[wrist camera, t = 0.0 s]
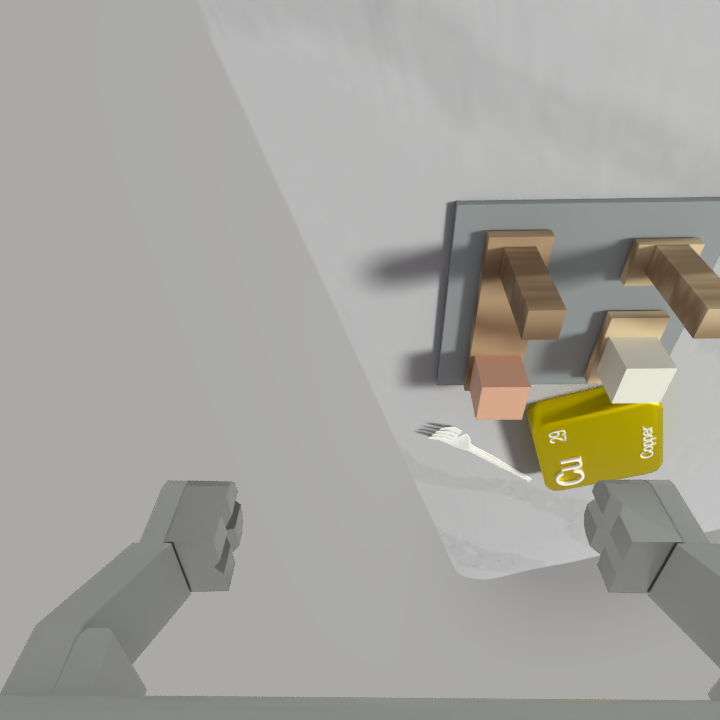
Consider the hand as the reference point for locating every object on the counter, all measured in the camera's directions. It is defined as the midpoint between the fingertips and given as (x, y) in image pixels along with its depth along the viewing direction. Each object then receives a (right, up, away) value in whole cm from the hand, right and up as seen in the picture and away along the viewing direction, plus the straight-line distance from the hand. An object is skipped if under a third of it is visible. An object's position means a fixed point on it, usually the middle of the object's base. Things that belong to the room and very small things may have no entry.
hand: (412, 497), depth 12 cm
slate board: (+21, +9, +43) cm, 49 cm away
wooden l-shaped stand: (+14, +8, +43) cm, 46 cm away
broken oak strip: (+28, +8, +43) cm, 52 cm away
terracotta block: (+14, +2, +47) cm, 49 cm away
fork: (+16, -10, +61) cm, 64 cm away
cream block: (+28, +4, +45) cm, 53 cm away
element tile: (+29, -5, +57) cm, 65 cm away
